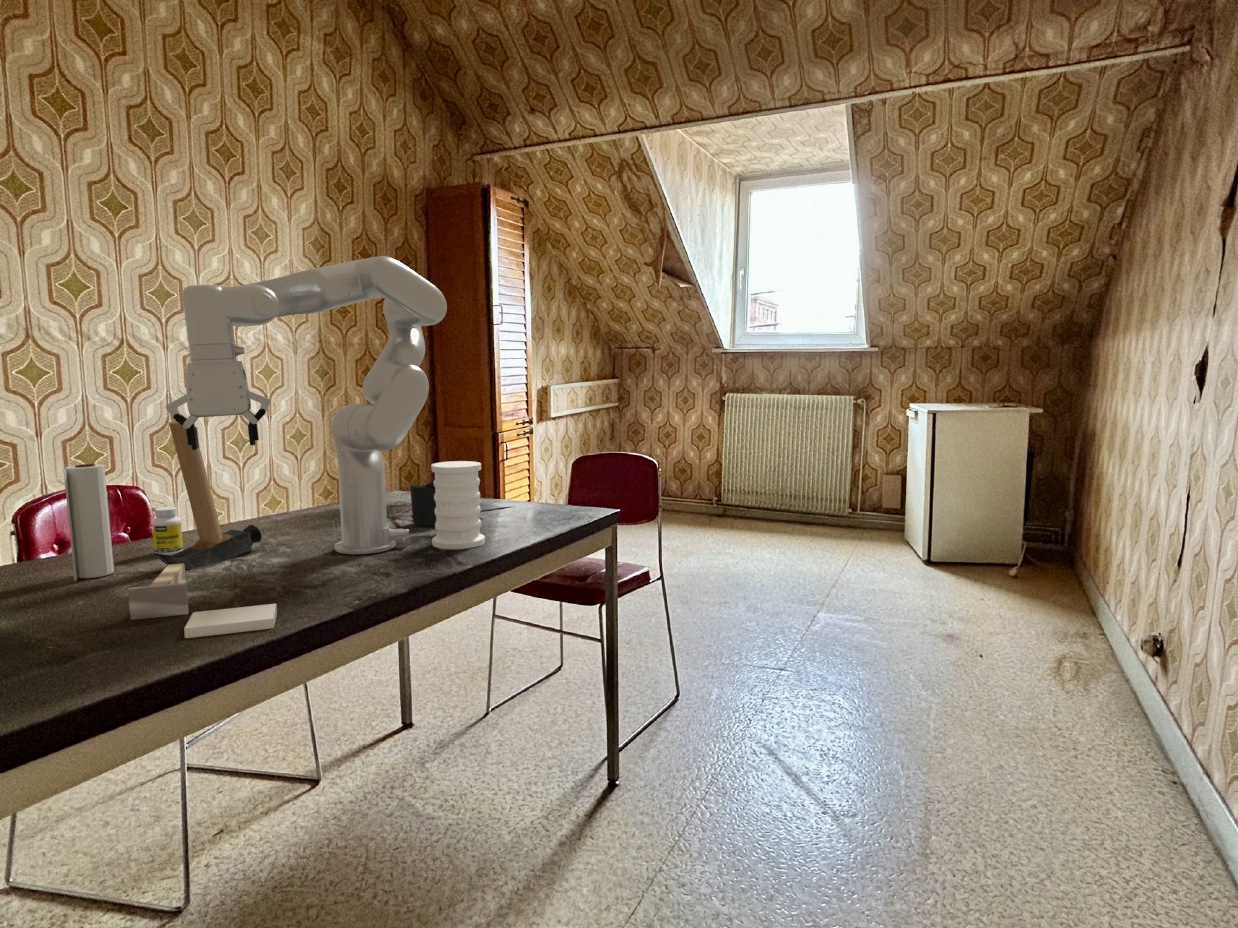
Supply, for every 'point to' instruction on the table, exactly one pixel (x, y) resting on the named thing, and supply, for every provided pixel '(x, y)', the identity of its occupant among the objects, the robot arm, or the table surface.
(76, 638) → the table surface
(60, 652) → the table surface
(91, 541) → the paper towel roll
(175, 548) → the supplement bottle
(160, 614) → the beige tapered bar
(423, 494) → the pen holder
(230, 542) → the hammer
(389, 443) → the robot arm
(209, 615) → the tile
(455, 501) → the decorative container
